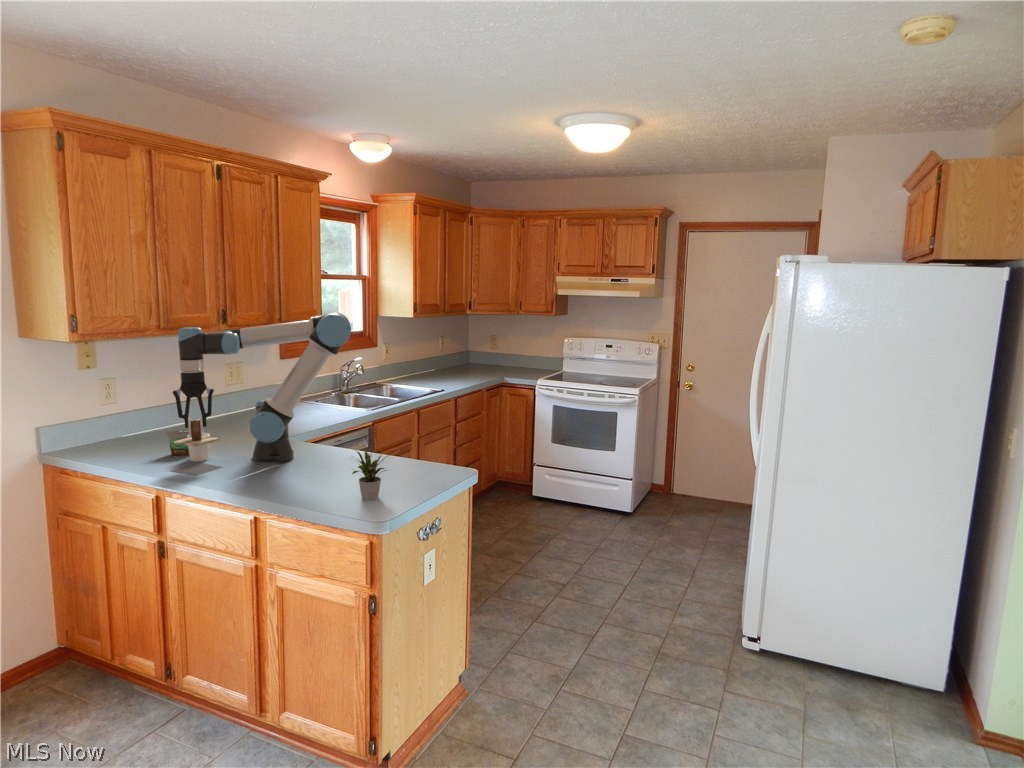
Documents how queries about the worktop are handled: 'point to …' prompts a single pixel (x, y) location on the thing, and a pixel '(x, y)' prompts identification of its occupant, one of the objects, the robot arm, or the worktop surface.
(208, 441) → the lid
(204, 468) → the mat
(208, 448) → the white cup
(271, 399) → the robot arm
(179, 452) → the food container
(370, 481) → the house plant
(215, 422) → the worktop surface
